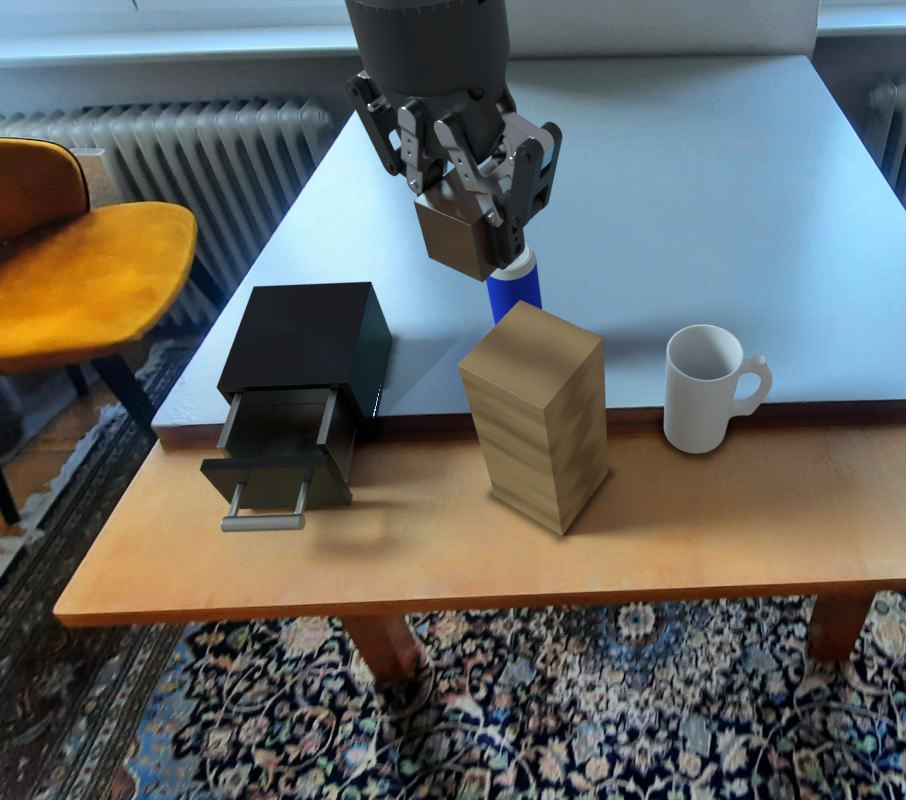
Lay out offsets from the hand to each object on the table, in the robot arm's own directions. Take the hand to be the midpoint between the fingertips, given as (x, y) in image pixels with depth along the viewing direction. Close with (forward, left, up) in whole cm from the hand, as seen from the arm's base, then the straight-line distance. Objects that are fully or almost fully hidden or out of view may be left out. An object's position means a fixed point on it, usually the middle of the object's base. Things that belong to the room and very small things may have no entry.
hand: (476, 246), depth 47 cm
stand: (+1, -2, -30) cm, 31 cm away
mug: (+15, -12, -31) cm, 36 cm away
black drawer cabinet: (-2, +26, -30) cm, 40 cm away
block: (0, 0, 0) cm, 0 cm away
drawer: (-11, +19, -30) cm, 37 cm away
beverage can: (+13, +10, -31) cm, 35 cm away
